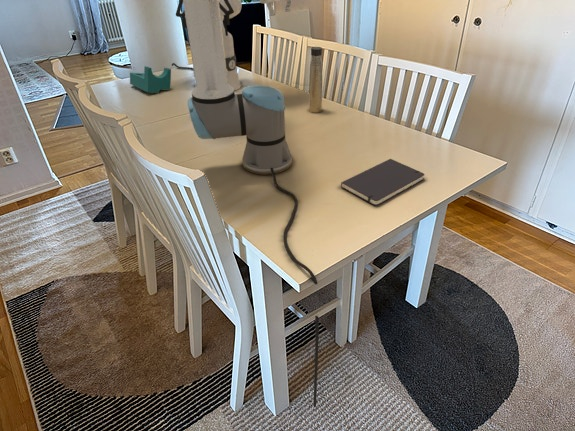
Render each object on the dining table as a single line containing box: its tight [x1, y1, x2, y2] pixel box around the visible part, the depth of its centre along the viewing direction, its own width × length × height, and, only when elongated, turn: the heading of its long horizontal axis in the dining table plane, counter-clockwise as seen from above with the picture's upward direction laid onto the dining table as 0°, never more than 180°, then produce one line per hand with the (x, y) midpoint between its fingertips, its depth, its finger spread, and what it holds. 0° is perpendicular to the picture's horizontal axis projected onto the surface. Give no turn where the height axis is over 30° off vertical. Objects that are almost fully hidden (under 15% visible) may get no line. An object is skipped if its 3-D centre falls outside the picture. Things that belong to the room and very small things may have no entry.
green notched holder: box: [129, 65, 172, 94], centre depth 185 cm, size 18×11×10 cm, turn 43°
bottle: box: [309, 56, 324, 114], centre depth 154 cm, size 5×5×23 cm
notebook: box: [340, 158, 425, 206], centre depth 114 cm, size 13×2×21 cm
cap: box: [310, 46, 323, 57], centre depth 148 cm, size 4×4×2 cm
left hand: (280, 13), depth 155 cm, fingers open, 8 cm apart
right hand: (208, 36), depth 147 cm, fingers open, 13 cm apart
